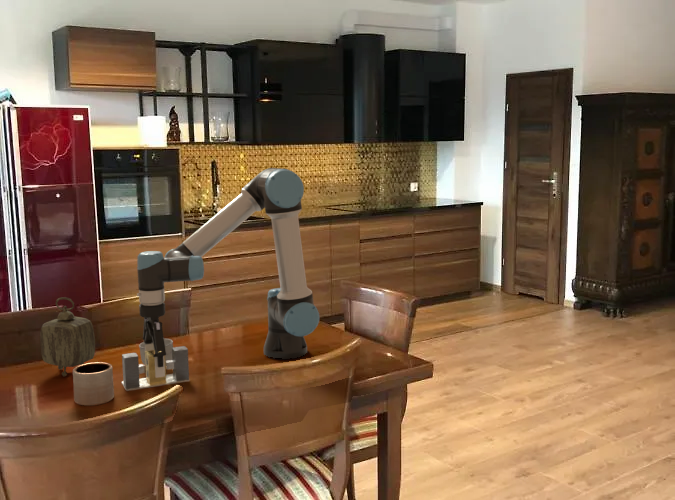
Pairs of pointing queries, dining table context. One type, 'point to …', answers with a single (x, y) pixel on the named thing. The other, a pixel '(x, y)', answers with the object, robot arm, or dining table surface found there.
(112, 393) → the planter
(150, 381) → the block
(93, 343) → the weathered metal cowbell
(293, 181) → the robot arm
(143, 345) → the teacup
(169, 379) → the stand
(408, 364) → the dining table surface
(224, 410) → the dining table surface
